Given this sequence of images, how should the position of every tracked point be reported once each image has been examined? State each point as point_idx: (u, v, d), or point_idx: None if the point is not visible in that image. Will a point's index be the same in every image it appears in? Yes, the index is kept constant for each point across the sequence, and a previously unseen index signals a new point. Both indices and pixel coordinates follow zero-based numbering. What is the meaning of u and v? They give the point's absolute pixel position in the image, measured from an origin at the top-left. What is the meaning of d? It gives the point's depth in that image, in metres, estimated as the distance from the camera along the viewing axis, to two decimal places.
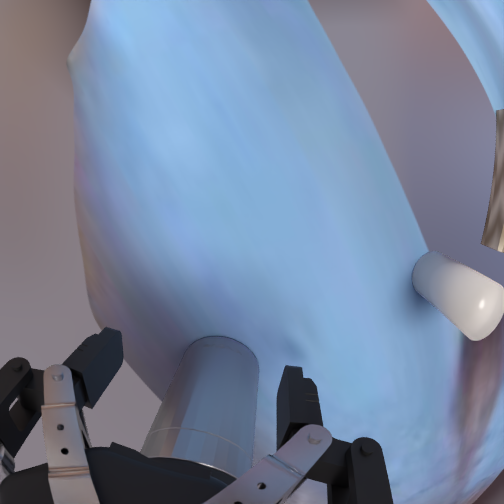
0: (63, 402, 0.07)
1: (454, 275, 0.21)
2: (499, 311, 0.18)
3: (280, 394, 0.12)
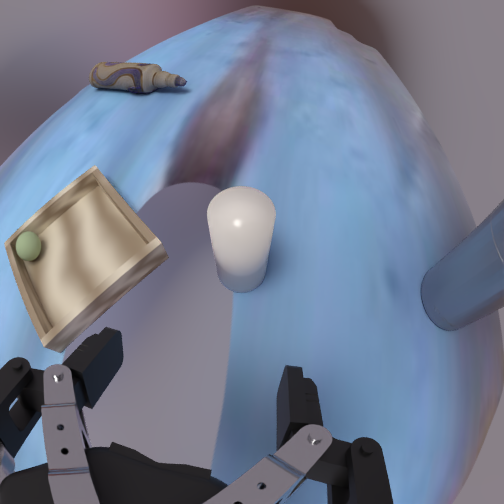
0: (63, 402, 0.07)
1: (242, 266, 0.25)
2: (222, 200, 0.23)
3: (280, 394, 0.12)
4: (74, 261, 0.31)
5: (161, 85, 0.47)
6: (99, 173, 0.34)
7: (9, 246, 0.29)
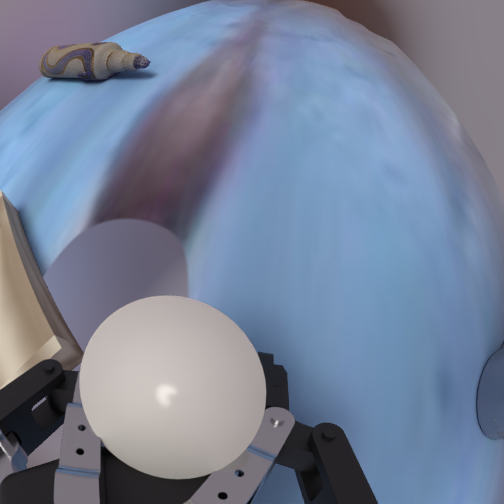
0: None
1: None
2: (117, 342, 0.07)
3: None
4: None
5: (117, 68, 0.31)
6: (2, 204, 0.18)
7: None
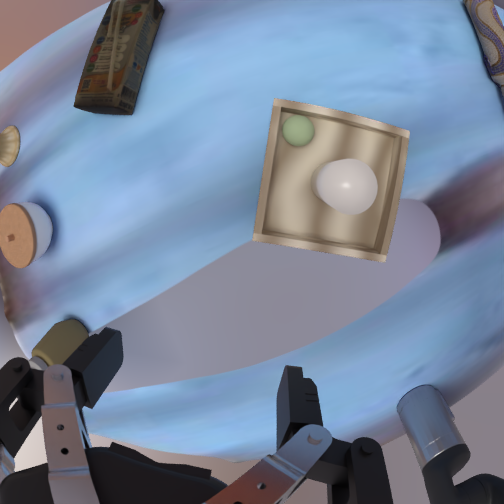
0: (63, 402, 0.07)
1: (323, 200, 0.30)
2: (351, 166, 0.25)
3: (280, 394, 0.12)
4: None
5: None
6: (406, 147, 0.31)
7: (278, 109, 0.31)
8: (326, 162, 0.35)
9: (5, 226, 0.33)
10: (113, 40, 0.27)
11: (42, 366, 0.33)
